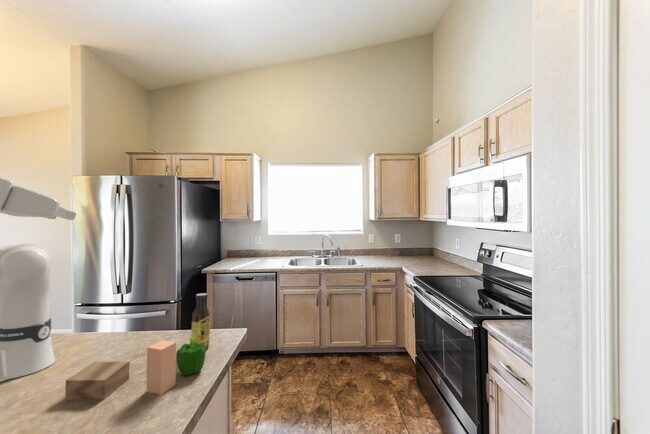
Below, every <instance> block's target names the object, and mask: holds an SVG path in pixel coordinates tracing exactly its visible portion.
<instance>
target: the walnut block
mask: <svg viewBox="0 0 650 434" xmlns="http://www.w3.org/2000/svg"><path fill="white" fill-rule="evenodd" d="M128 380H130V361H94V362H93V363H91V364H89V365H88V366H86V367H85V368H83V369H82V370H80V371H78V372H77V373H75V374H73V375H72V376H70V377H69V378H67V379H66V380H65V397H64V400H65V401H66V400H67V401H76V400H79V401H81V400H82V401H84V400H87V401H88V400H105V399H107V398H108V397H109V396H110V395H112V394H113V393H114V392H115V391H116V390H118V389H119V388H120V387H121V386H122V385H123V384H125V383H126V382H127V381H128Z"/></svg>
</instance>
